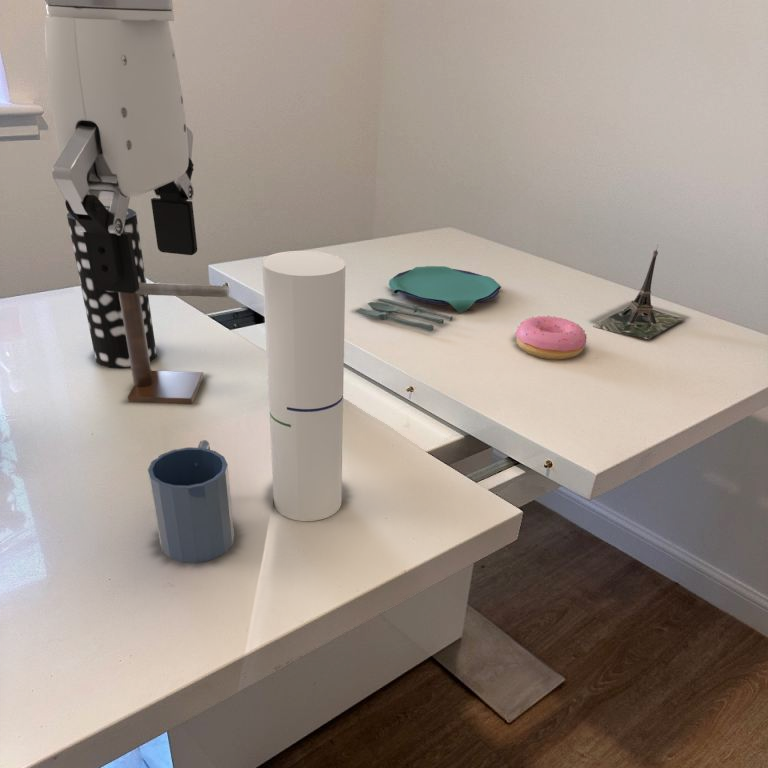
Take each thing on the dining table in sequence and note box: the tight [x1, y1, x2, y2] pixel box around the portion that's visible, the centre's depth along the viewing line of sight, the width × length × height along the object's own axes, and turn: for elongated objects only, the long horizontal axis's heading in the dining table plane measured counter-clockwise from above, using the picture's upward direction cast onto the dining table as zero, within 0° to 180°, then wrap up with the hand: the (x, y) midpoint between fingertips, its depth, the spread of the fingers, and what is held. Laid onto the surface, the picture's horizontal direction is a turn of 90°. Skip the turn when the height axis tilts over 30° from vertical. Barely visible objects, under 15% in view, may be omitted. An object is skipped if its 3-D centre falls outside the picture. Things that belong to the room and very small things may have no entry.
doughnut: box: [515, 315, 588, 360], centre depth 112 cm, size 11×11×4 cm
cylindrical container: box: [261, 250, 346, 522], centre depth 69 cm, size 7×7×25 cm
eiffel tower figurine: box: [592, 244, 686, 340], centre depth 121 cm, size 15×10×13 cm
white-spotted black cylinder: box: [66, 205, 158, 370], centre depth 97 cm, size 8×8×20 cm
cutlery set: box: [355, 265, 502, 332], centre depth 128 cm, size 20×30×2 cm, turn 148°
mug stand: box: [118, 282, 230, 405], centre depth 90 cm, size 13×8×16 cm, turn 91°
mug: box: [147, 439, 235, 564], centre depth 68 cm, size 11×7×9 cm, turn 1°
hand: (149, 270), depth 54 cm, fingers open, 9 cm apart
